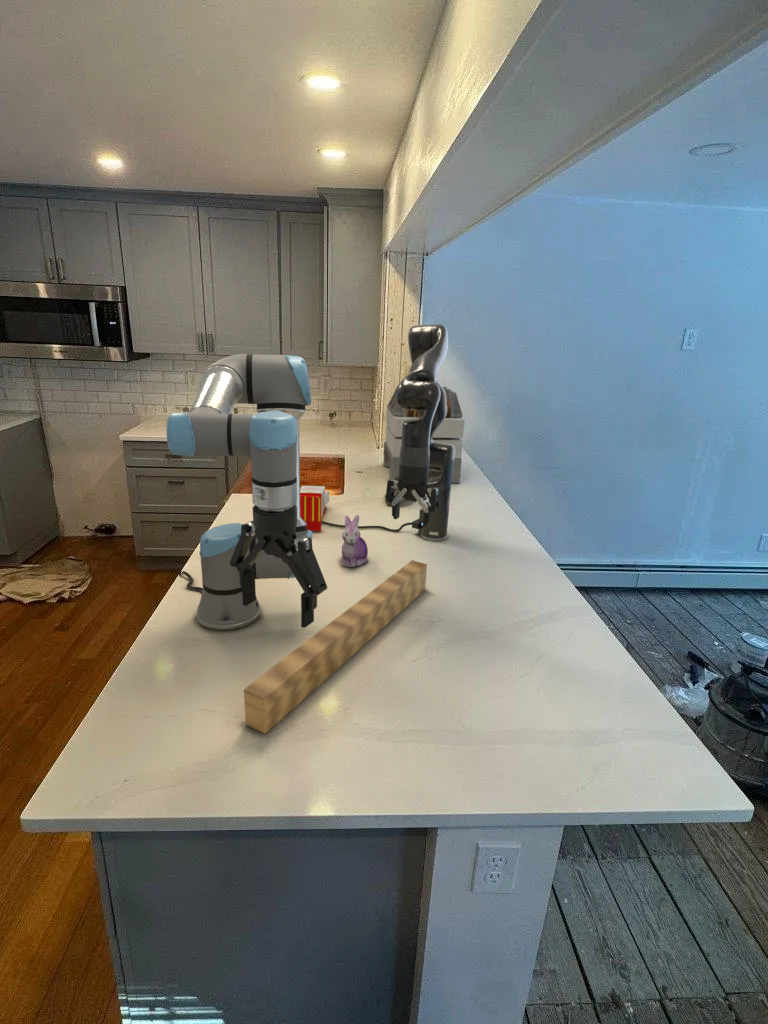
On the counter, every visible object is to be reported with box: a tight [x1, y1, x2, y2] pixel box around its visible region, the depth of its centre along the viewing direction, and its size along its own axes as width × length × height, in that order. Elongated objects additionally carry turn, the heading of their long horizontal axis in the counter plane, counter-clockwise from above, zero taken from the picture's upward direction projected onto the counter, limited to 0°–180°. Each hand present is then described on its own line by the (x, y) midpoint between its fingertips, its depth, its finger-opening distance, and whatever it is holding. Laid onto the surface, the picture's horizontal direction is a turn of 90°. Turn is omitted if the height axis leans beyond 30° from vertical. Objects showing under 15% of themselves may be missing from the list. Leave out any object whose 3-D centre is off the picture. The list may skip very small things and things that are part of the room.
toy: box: [300, 485, 330, 532], centre depth 209 cm, size 12×13×30 cm
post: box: [243, 559, 428, 735], centre depth 132 cm, size 69×5×8 cm, turn 151°
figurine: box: [340, 514, 369, 568], centre depth 174 cm, size 9×10×15 cm
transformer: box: [383, 384, 465, 484], centre depth 268 cm, size 34×33×41 cm
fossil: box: [384, 475, 405, 507], centre depth 235 cm, size 22×10×15 cm
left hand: (277, 613), depth 104 cm, fingers open, 13 cm apart
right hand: (410, 521), depth 148 cm, fingers open, 8 cm apart
